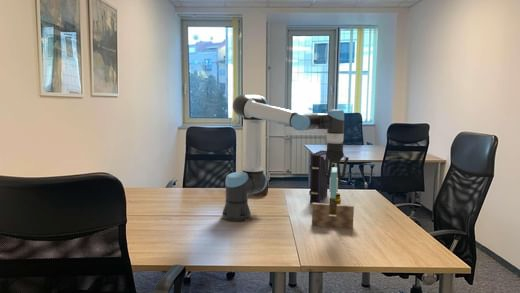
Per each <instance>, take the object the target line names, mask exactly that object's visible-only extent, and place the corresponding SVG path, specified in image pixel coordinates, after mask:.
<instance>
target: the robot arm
mask: <svg viewBox="0 0 520 293" xmlns="http://www.w3.org/2000/svg"><path fill="white" fill-rule="evenodd" d="M232 110H233V112H234V113H235V114H236V115H237V116H239V117H242V118H243V119H242V120H243V121H244V123H245V160H244V163H245V166H244V167H243V168H242V171H237V172H231V173H229V174H227V175H226V177H225V183H224V184H225V204H224V207H223V210H222V213H221V215H222V216H221V218H222V219H223V220H225V221H229V222H245V221H248V220H250V219H251V216H252V215H251V209H250V206H249V203H248V198H249V196H252V195H251V194H254V193H259V192H260V191H262V190H264V189H265V187H266V185H267V180H268V176H267V175H266V173H265V171H264V167H262V130H263V129H262V128H263V127H262V126H263V125H262V124H263V123H264V121H267V122H270V123H275V124H278V125H283V126H286V127H290V128H292V129H294V130H295V131H308V130H326V132H327V133H326V139H327V140H326V141H327V143H326V151H327V152H326V154H325V155H323V156H321V160H322V164H323V175H324V177H327V184H328V185H329V191H328V192H329V193H330V190H331V171H332V167H333V163H336V168H337V179H336V193H339V186H341V183H342V182H341V179H342V178H345V177H346V170H347V165H348V164H347V163H348V161H349V156H348V155H347V156H346V155H345V153H344V143H343V142H344V137H345V136H344V133H345V132H344V128H345V111H344V109H328V111H327V113H317V112H316V113H315V112H311V113H309V112H307V113H305V112H299V111H294V110H291V109H286V108H282V107H278V106H273V105H269V102H268V100H267V99H266V98H265V97H264V96H262V95H258V94H240V95H238V96H237V97H235V99H234V100H233V102H232ZM326 157H327V158H328V174H326V165H325V159H326ZM342 159H343V165H342V166H343V167H342V172H341V164H340V163H341V162H340V161H341V160H342ZM341 173H342V174H341ZM266 176H267V177H266Z"/></svg>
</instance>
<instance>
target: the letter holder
mask: <svg viewBox="0 0 520 293" xmlns="http://www.w3.org/2000/svg"><path fill="white" fill-rule="evenodd" d="M265 176H266V177H267V178H268V176H267V175H265ZM268 193H269V181H268V179H267V185H266V187H265V189H264V190H262V191H260V192H259V193H254V194H251V195H250V196H252V195H253V196H267V195H268Z"/></svg>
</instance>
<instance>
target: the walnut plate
mask: <svg viewBox="0 0 520 293" xmlns="http://www.w3.org/2000/svg"><path fill="white" fill-rule="evenodd" d="M311 209H312V210H311V212H312V213H311V226H315V227H328V228H340V229H341V228H342V229H354V213H355V211H354V210H355V206H354V205H353V204H352V205H351V204H341V205H340V204H337V210H336V215H329V203H323V202H319V203H317V202H312V208H311Z"/></svg>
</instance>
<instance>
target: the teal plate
mask: <svg viewBox="0 0 520 293" xmlns="http://www.w3.org/2000/svg"><path fill="white" fill-rule="evenodd" d="M330 177H331V190H330V192H329V196H330V197H329V199H330V198H335V199H336V193H337V192H336V179H337V178H338V171H337V166H335V167H334V166H332V167H331V173H330Z"/></svg>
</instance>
